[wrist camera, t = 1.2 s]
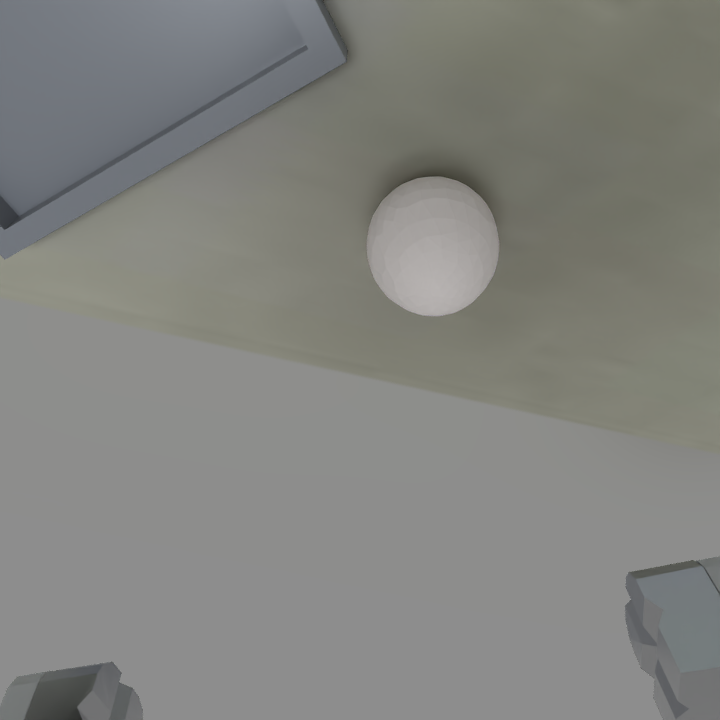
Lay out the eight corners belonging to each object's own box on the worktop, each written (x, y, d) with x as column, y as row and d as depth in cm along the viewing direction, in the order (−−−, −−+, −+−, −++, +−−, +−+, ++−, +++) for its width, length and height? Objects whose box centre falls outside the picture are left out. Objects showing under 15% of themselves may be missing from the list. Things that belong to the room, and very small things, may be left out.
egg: (362, 159, 33) (362, 223, 27) (489, 152, 33) (519, 214, 27) (369, 272, 37) (371, 352, 31) (483, 265, 37) (509, 345, 30)
